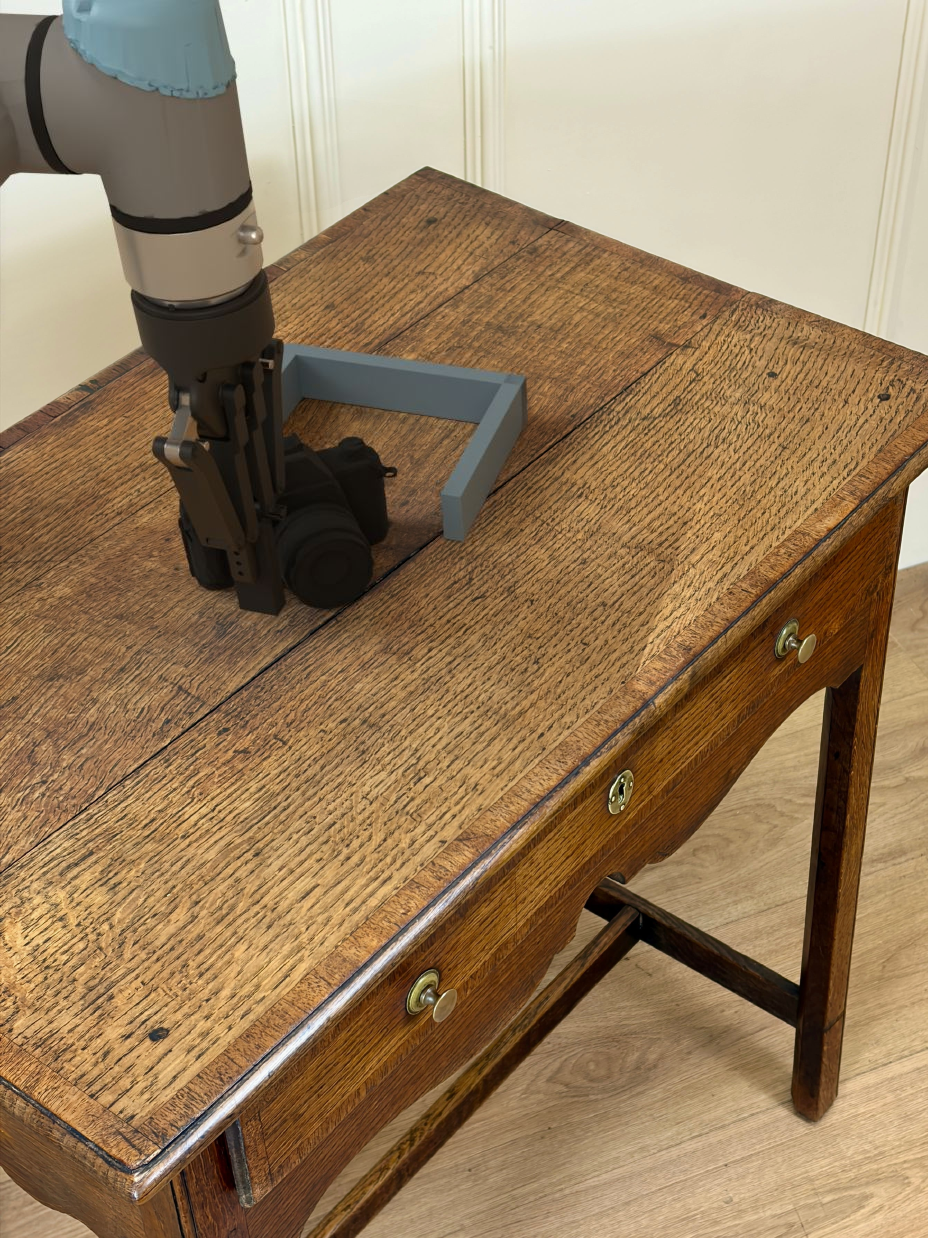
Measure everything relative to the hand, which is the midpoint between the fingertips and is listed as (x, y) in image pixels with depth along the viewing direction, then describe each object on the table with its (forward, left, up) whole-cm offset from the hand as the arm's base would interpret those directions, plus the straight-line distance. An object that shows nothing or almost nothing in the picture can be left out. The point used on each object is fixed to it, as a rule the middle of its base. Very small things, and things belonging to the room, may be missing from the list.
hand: (263, 605), depth 96 cm
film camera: (0, +6, -2) cm, 7 cm away
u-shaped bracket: (0, +20, -2) cm, 20 cm away
